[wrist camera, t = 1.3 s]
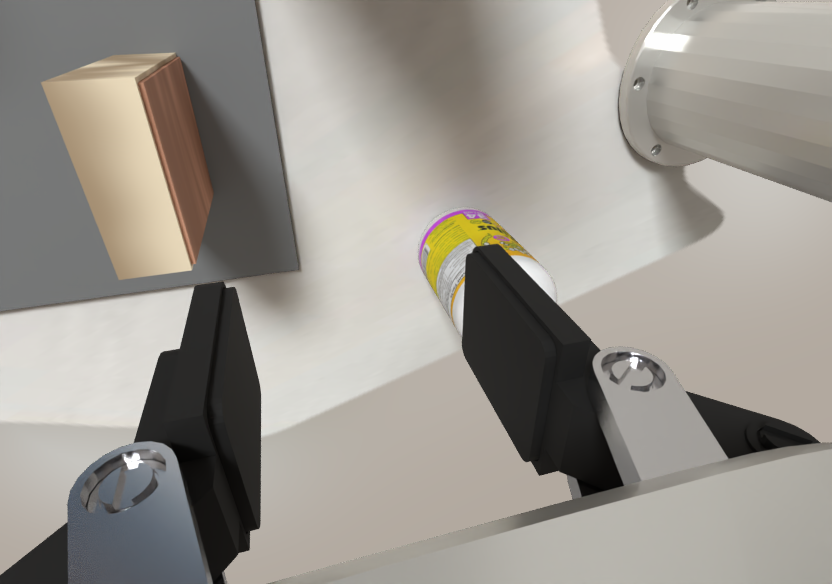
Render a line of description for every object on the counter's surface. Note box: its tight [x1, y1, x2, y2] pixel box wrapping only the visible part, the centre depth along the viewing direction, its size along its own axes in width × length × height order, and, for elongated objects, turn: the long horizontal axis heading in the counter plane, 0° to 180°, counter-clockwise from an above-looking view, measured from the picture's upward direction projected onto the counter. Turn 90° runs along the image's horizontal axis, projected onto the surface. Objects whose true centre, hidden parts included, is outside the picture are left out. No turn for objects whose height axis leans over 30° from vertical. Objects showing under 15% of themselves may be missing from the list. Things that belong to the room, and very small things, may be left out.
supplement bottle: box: [418, 207, 559, 337], centre depth 32 cm, size 7×7×13 cm
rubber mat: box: [0, 0, 299, 311], centre depth 27 cm, size 20×20×1 cm
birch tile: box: [41, 53, 214, 280], centre depth 23 cm, size 3×8×10 cm, turn 1°
